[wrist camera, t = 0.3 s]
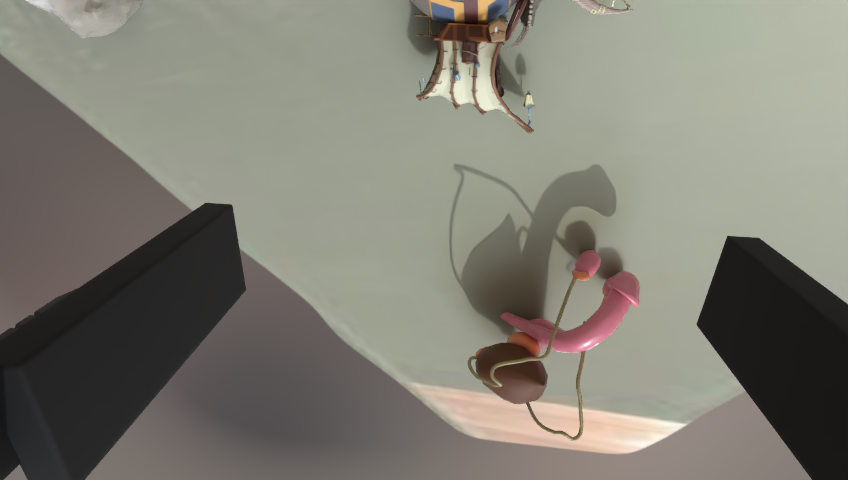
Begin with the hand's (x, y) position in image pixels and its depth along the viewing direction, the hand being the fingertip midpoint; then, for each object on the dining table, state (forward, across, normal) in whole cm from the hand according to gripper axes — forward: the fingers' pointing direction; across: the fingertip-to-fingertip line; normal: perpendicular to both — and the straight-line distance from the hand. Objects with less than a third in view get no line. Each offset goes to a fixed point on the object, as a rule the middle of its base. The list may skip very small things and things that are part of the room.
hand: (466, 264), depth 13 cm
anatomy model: (+28, +9, -19) cm, 35 cm away
